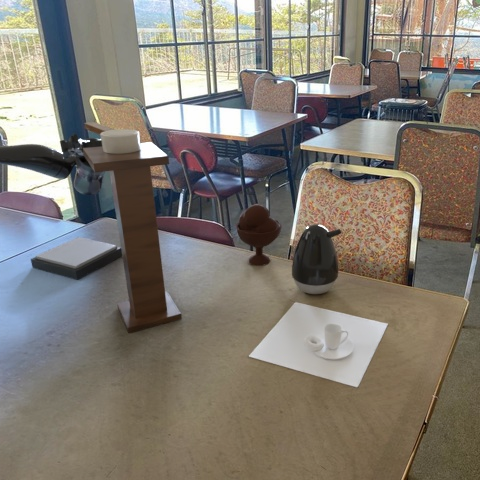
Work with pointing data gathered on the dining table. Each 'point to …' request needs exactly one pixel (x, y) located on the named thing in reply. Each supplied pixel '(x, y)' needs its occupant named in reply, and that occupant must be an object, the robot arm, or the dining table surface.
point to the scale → (76, 257)
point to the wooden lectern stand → (137, 234)
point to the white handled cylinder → (116, 138)
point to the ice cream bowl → (258, 231)
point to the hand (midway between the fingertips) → (97, 136)
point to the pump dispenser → (315, 260)
